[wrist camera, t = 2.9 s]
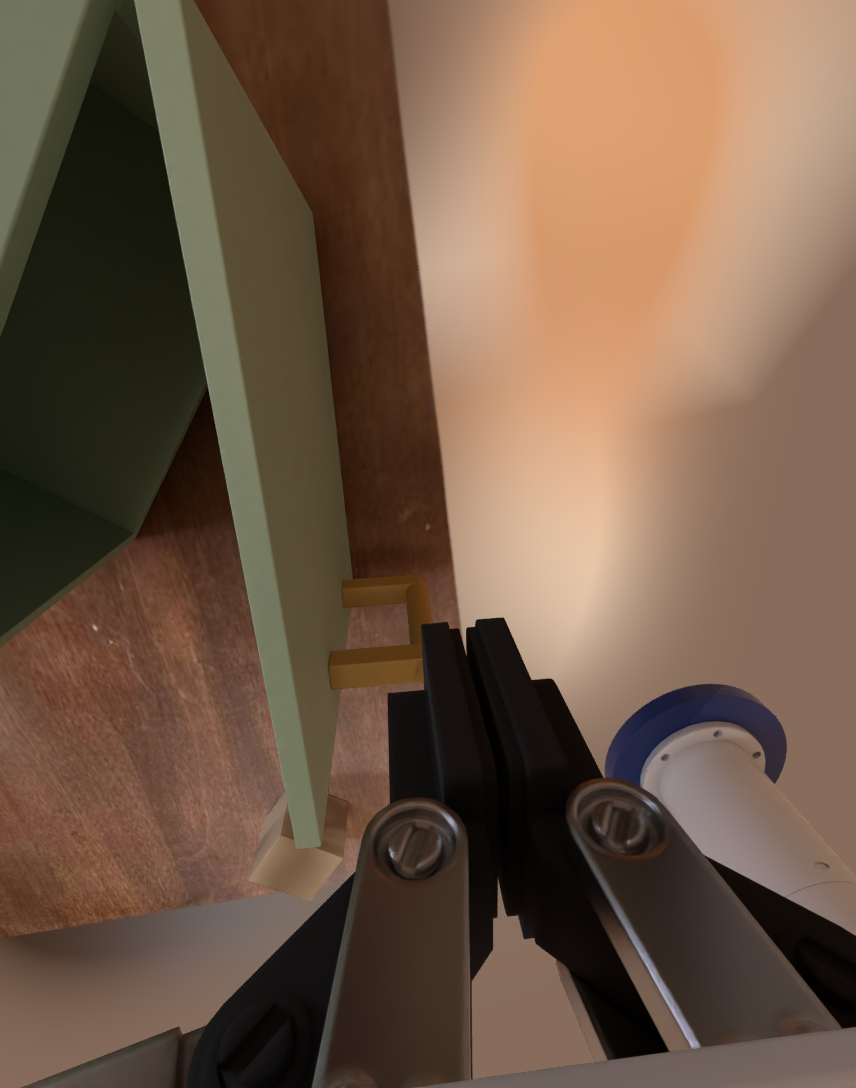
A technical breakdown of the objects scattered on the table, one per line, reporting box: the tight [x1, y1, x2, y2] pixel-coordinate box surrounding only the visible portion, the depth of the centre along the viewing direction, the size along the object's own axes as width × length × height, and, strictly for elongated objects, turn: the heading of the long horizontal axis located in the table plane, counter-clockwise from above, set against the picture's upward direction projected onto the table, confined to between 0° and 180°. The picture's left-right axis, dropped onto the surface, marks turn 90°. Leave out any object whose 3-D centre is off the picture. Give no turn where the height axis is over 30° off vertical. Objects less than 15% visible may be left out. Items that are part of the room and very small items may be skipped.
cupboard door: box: [134, 0, 433, 849], centre depth 27 cm, size 6×26×24 cm, turn 3°
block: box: [249, 791, 348, 901], centre depth 48 cm, size 6×6×6 cm
